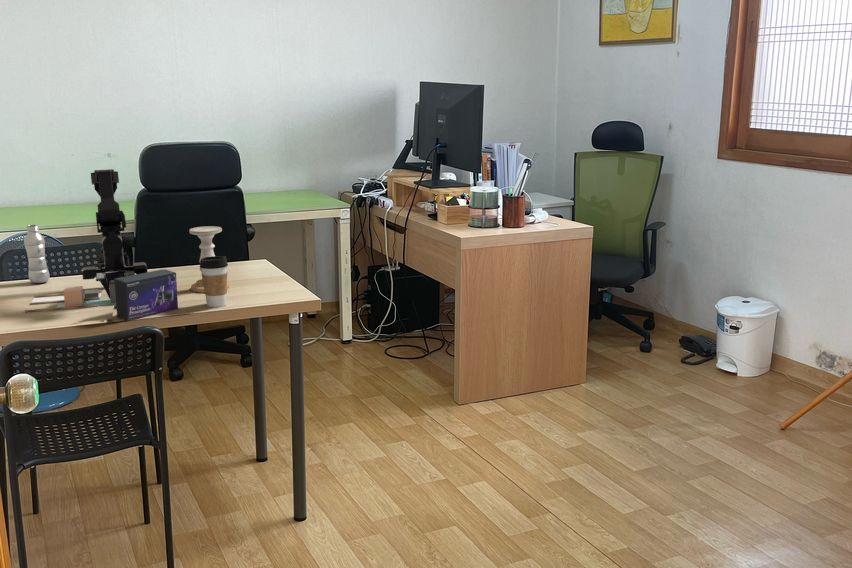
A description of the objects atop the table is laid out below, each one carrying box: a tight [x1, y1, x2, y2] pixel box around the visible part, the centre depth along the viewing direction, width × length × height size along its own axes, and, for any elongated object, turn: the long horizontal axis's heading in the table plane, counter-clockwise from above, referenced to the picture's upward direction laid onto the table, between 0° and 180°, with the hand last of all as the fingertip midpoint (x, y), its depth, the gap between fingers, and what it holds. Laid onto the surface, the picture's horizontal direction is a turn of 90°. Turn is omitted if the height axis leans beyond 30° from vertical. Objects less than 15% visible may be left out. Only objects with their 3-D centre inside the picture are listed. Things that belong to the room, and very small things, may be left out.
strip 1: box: [30, 288, 102, 303], centre depth 262 cm, size 20×7×2 cm, turn 107°
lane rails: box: [24, 289, 102, 314], centre depth 258 cm, size 20×19×2 cm
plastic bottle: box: [23, 224, 50, 284], centre depth 285 cm, size 6×7×20 cm
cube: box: [62, 285, 84, 307], centre depth 254 cm, size 5×5×5 cm
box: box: [114, 268, 179, 322], centre depth 247 cm, size 17×7×12 cm, turn 139°
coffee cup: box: [199, 255, 229, 308], centre depth 255 cm, size 8×8×15 cm
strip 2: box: [56, 280, 116, 308], centre depth 255 cm, size 20×7×7 cm, turn 107°
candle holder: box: [189, 225, 230, 294], centre depth 274 cm, size 12×12×20 cm
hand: (117, 297), depth 258 cm, fingers closed on strip 2, 4 cm apart
